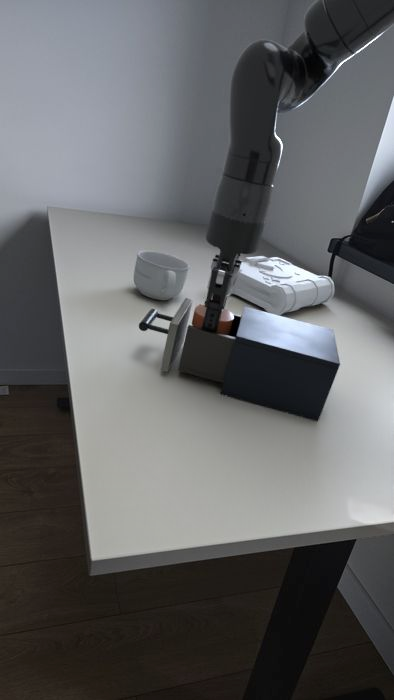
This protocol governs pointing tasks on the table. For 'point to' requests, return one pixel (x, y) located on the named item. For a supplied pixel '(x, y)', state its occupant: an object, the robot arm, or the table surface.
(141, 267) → the teacup
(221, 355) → the drawer
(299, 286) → the book
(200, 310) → the cylinder
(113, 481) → the table surface
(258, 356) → the cabinet
